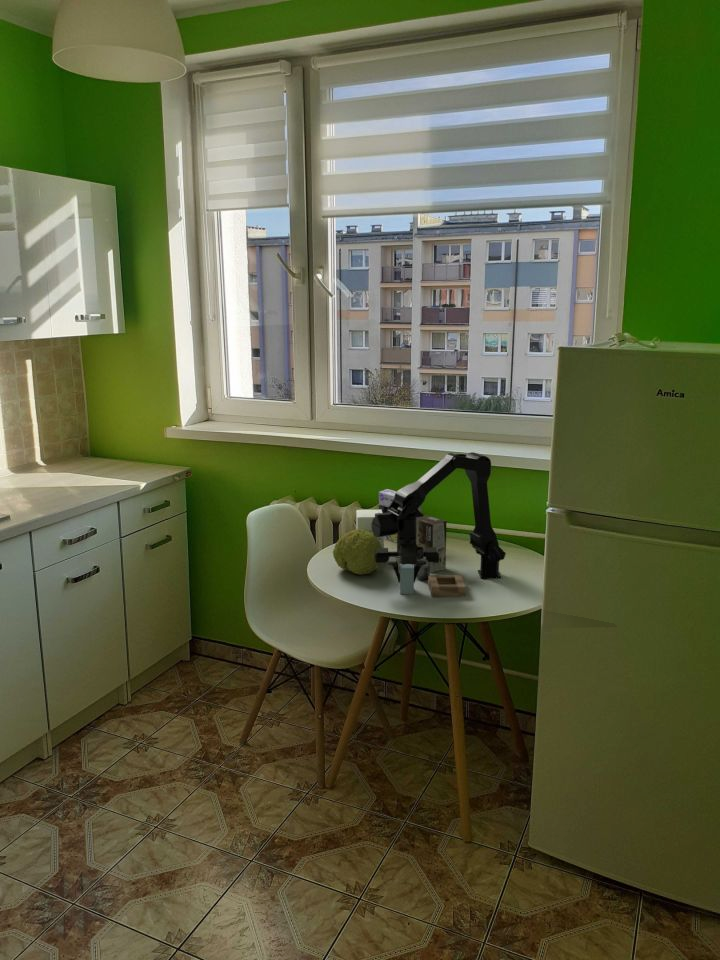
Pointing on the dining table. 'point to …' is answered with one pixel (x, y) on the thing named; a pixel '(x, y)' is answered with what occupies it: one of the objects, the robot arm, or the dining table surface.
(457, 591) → the socket block
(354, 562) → the fruit
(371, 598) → the dining table surface
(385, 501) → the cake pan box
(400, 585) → the square peg
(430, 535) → the coffee box
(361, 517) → the supplement box
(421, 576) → the round peg
